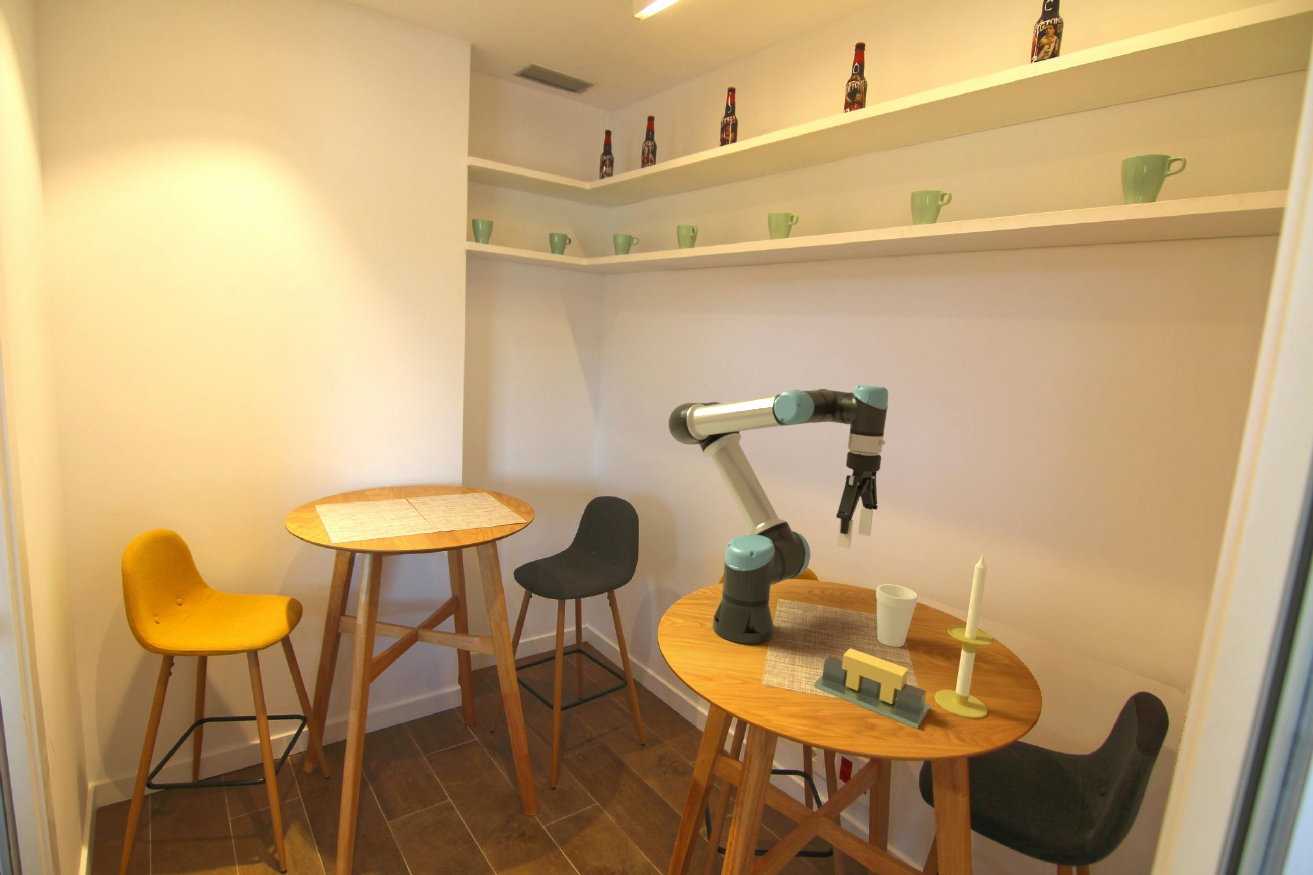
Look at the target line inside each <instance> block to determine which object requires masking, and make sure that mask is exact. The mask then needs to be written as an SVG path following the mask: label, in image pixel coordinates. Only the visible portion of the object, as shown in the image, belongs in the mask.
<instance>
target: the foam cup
mask: <svg viewBox="0 0 1313 875" xmlns="http://www.w3.org/2000/svg"><path fill="white" fill-rule="evenodd" d="M875 598H876V635H877V636H876V638H877V640H878V641H879V642H880V643H881V644H883V645H885V646H888V647H893V648H894V647H895V648H899V647H903V646H904V645H905V642H906V639H907V636H908V633H909V629H910V626H911V622H912V620H913V619H912V618H913V616H914V613H915V609H916V607H917V603H918V594H917V592H916V591H914V590H913V589H911V588H909V587H905V586H902V585H897V584H891V583H890V584H889V583H888V584H887V583H885V584H880V585H878V586H877V587H876V592H875Z"/></svg>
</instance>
